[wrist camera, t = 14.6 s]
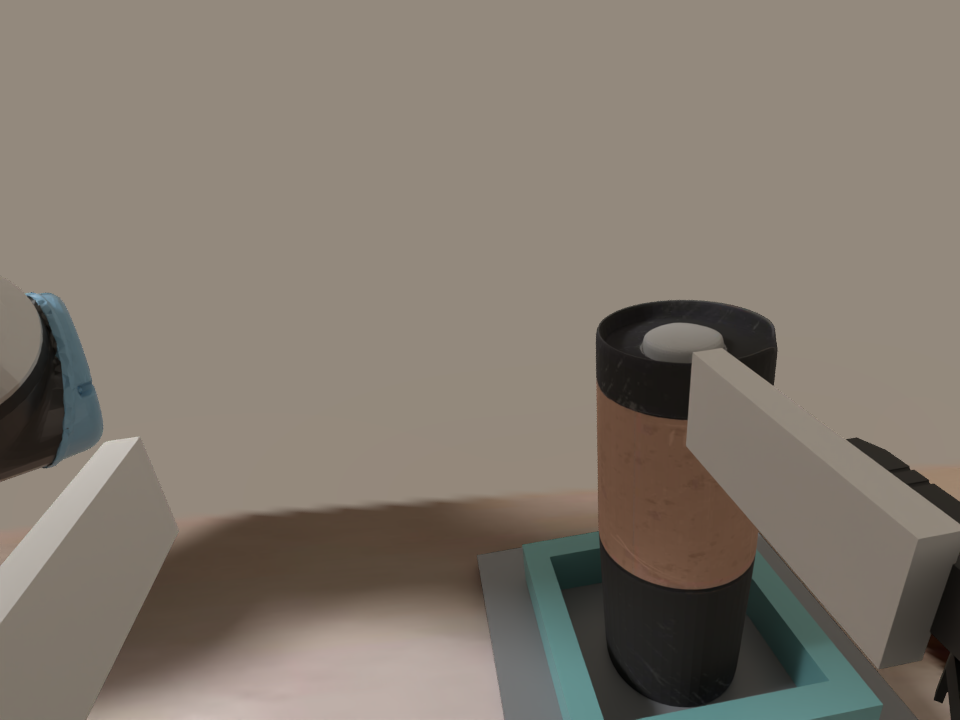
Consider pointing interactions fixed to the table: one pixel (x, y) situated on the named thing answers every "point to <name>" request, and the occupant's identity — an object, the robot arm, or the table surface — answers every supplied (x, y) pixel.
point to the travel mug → (670, 501)
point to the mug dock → (619, 708)
